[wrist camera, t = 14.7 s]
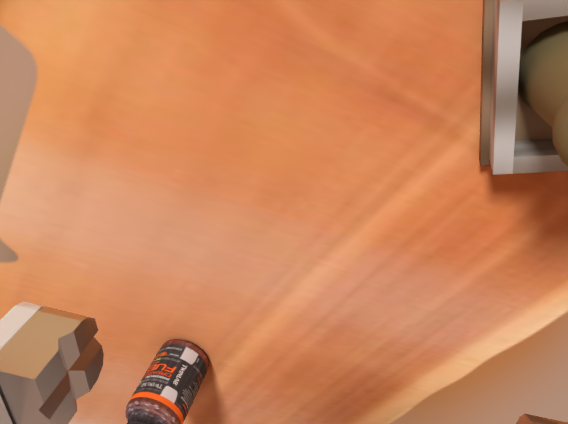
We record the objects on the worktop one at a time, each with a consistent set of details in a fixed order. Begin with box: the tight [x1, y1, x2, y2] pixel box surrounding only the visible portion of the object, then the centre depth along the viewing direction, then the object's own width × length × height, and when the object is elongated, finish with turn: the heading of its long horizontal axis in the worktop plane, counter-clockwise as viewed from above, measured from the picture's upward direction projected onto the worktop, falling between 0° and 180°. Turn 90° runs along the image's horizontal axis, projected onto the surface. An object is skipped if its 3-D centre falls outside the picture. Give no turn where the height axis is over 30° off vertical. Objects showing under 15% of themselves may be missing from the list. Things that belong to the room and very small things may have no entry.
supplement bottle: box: [126, 339, 209, 424], centre depth 52 cm, size 6×6×11 cm
